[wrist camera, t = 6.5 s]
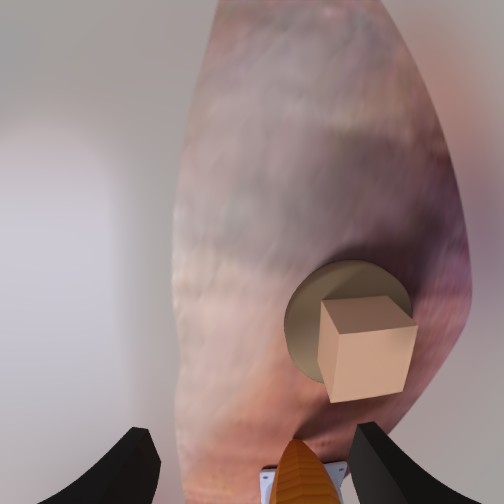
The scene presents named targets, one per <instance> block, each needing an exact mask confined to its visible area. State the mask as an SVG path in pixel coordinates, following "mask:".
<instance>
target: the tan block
mask: <svg viewBox="0 0 504 504" xmlns="http://www.w3.org/2000/svg"><path fill="white" fill-rule="evenodd" d="M417 330H418V324H417V323H415V322H414V321H413V320H412V319H411V318H410V317H409V316H408V315H407V314H406V313H405V312H404V311H403V310H402V309H401V308H400V307H399V306H398V305H397V304H395V303H394V302H393V301H392V300H391V299H390V298H389V297H388V296H376V297H363V298H350V299H335V300H321V316H320V332H319V347H318V359H317V361H318V364H319V367H320V370H321V374H322V377H323V380H324V383H325V386H326V389H327V392H328V395H329V399H330V402H331V403H334V402H342V401H350V400H357V399H363V398H370V397H376V396H381V395H387V394H392V393H397V392H402V391H403V387H404V384H405V380H406V377H407V373H408V369H409V365H410V361H411V357H412V353H413V348H414V344H415V339H416V334H417Z"/></svg>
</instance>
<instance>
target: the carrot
mask: <svg viewBox="0 0 504 504" xmlns="http://www.w3.org/2000/svg"><path fill="white" fill-rule="evenodd" d="M269 504H341V502H340V499H339V496H338V493H337V490H336V488H335V486H334V484H333V482H332V480H331V478H330V476H329V474H328V472H327V471H326V469H325V467H324V465H323V463H322V462H321V461H320V460H319V458H318V457H317V456H316V455H315V453H314V452H313V451H312V450H311V449H310V448H309V447H308V446H307V445H306V444H305V443H304V442H303V441H301V440H300V439H293V440H291V441H290V442H289V444H288V446H287V447H286V449H285V451H284V453H283V455H282V457H281V459H280V461H279V464H278V466H277V469H276V471H275V475H274V480H273V484H272V489H271V495H270V501H269Z"/></svg>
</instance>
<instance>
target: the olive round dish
mask: <svg viewBox="0 0 504 504" xmlns="http://www.w3.org/2000/svg"><path fill="white" fill-rule="evenodd" d="M376 296H388V297H389V298H390V299H391V300H392V301H393V302H394V303H395V304H397V305H398V306H399V307H400V308H401V309H402V310H403V311H404V312H405V313H406V314H407V315H408V316H409V317H410V318H411V319H412V306H411V301H410V298H409V295H408V293H407V291H406V289H405V288H404V287H403V285H402V284H401V283H400V282H399V281H398V280H397V279H396V278H395V277H394V276H392V275H391V274H389V273H388V272H387V271H385V270H384V269H382V268H381V267H380V266H378V265H376V264H374V263H371V262H368V261H364V260H358V259H348V260H341V261H337V262H333V263H330V264H328V265H325V266H323V267H321V268H320V269H318V270H316V271H315V272H313V273H312V274H310V275H309V276H308V277H307V278H306V279H305V280H304V281H303V282H302V283H301V284H300V285H299V286H298V287H297V289H296V290H295V292H294V293H293V295H292V297H291V299H290V301H289V303H288V306H287V309H286V313H285V318H284V331H285V337H286V342H287V347H288V351H289V354H290V357H291V359H292V361H293V363H294V364H295V366H296V367H297V368H298V369H299V370H300V371H301V372H302V373H303V374H304V375H305V376H307V377H309V378H310V379H312V380H314V381H317V382H320V383H323V384H325V383H324V380H323V377H322V374H321V370H320V367H319V364H318V361H317V359H318V347H319V332H320V316H321V300H335V299H350V298H363V297H376Z"/></svg>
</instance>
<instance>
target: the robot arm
mask: <svg viewBox="0 0 504 504" xmlns="http://www.w3.org/2000/svg"><path fill="white" fill-rule="evenodd" d="M348 460H349V465H350V471H351V476H352V480H353V484H354V487H355V490H356V493H357V496H358V499H359V502H360V504H481V503H479V502H476V501H474V500H472V499H470V498H468V497H465V496H463V495H461V494H460V493H458V492H456V491H454V490H452V489H450V488H449V487H447V486H446V485H444V484H443V483H441V482H440V481H438V480H437V479H435V478H434V477H432V476H431V475H430V474H428V473H427V472H426V471H425V470H424V469H422V468H421V467H420V466H419V465H418V464H416V463H415V462H414V461H413V460H412V459H411V458H410V457H409V456H408V455H407V454H405V453H404V452H403V451H402V450H401V449H400V448H399V447H398V446H397V445H396V444H395V443H394V442H393V441H392V440H391V439H390V438H389V437H388V436H387V435H386V433H385V432H384V431H383V430H382V429H381V428H380V427H379V426H378V425H377V424H376V423H375V422H374V421H373V422H368V423H362V424H357V428H356V432H355V436H354V439H353V443H352V447H351V450H350V454H349V457H348ZM323 465H324V467H325V469H326V471H327V472H328V474H329V476H330V478H331V480H332V482H333V484H334V486H335V488H336V490H337V493H338V496H339V499H340V502H341V504H344V503H343V499H342V495H341V491H340V487H341V484H342V481H343V478H344V475H345V472H346V468H347V462H345V461H341V462H335V463H328V464H323ZM160 466H161V460H160V458H159V456H158V453H157V451H156V448H155V446H154V443H153V441H152V438H151V435H150V433H149V430H148V429H144V428H137V427H132V428H131V429H130V430H129V431H128V432H127V433H126V434H125V435H124V436H123V437H122V438H121V439H120V440H119V441H118V442H117V443H116V444H115V445H114V446H113V447H112V448H111V449H110V450H109V452H107V453H106V454H105V455H104V456H103V457H102V458H101V459H100V460H99V461H98V462H97V463H96V464H95V465H94V466H93V467H91V468H90V469H89V470H88V471H87V472H85V473H84V474H83V475H82V476H81V477H80V478H78V479H77V480H76V481H74V482H73V483H72V484H70V485H69V486H67V487H66V488H65V489H63V490H61V491H60V492H58V493H57V494H55V495H53V496H51V497H50V498H48V499H46V500H44V501H42V502H40V503H38V504H151V503H152V500H153V497H154V494H155V491H156V488H157V484H158V479H159V473H160ZM275 471H276V469H263V470H261V471H260V486H261V502H262V504H269V501H270V495H271V489H272V484H273V480H274V475H275Z"/></svg>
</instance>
